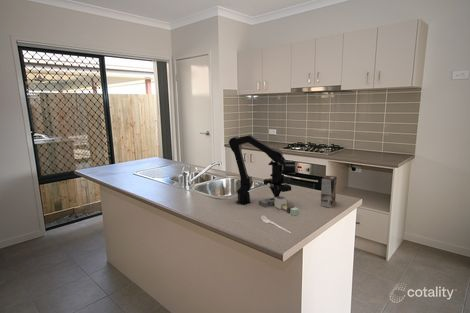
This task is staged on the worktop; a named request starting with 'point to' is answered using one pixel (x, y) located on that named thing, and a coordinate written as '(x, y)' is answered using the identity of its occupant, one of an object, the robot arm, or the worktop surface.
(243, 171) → the robot arm
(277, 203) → the grey block
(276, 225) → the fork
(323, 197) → the coffee box
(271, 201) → the cord rig
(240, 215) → the worktop surface
